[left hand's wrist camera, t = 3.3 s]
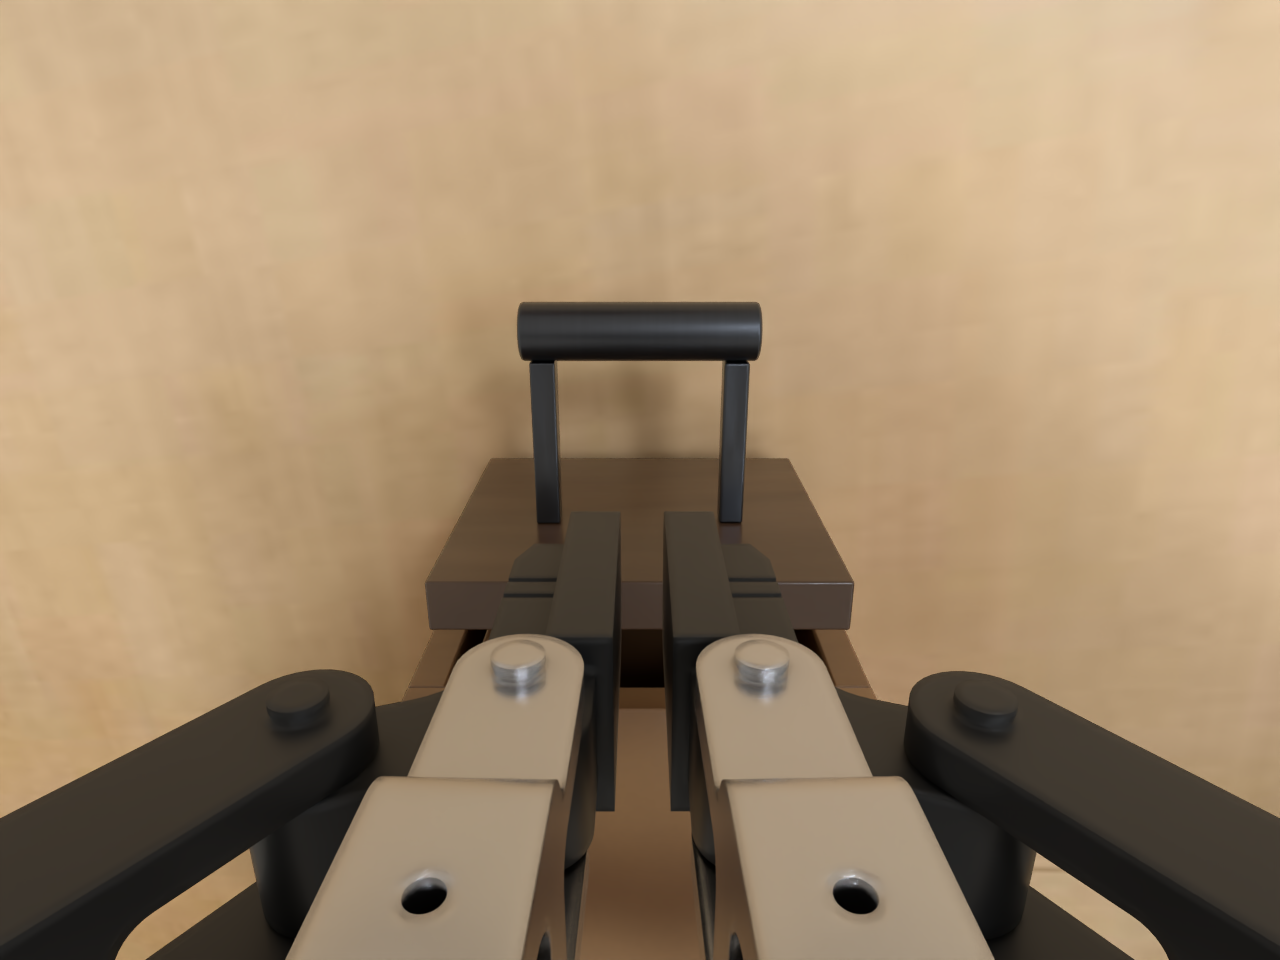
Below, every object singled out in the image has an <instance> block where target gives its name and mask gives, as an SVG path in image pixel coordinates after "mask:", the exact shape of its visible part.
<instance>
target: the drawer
mask: <svg viewBox="0 0 1280 960" xmlns="http://www.w3.org/2000/svg"><path fill="white" fill-rule="evenodd" d="M517 340H518V349H519V354H520V357H521V359H522V360H524V361H531V362H530V364H529V367H530V388H531V409H532V430H533V451H534V459H491V460H490V461H489V463H488V465H487V467H486V469H485V471H484V473H483V475H482V477H481V478H480V480H479V482H478V484H477V486H476V488H475V490H474V492H473V493H472V495H471V497H470V499H469V501H468V503H467V505H466V507H465V509H464V510H463V512H462V514H461V516H460V518H459V520H458V522H457V524H456V525H455V527H454V529H453V531H452V533H451V535H450V537H449V539H448V541H447V542H446V544H445V546H444V548H443V550H442V552H441V554H440V556H439V557H438V559H437V561H436V563H435V565H434V567H433V569H432V571H431V573H430V574H429V576H428V578H427V580H426V582H425V589H426V598H427V608H428V618H429V627H430V629H432V630H487V631H486V634H485V637H484V640H483V642H486V641H488V639H489V636H490V633H491V630H492V627H493V624H494V621H495V618H496V615H497V612H498V609H499V606H500V603H501V600H502V598H503V593H504V590H505V587H506V584H507V582H508V581H509V575H510V572H511V569H512V566H513V563H514V560H515V559H516V558H517V557H518V556H520V555H521V554H522V553H523V552H525V551H526V550H527V549H528V548H530V547H531V546H532V545H533V544H564V542H565V537H566V533H567V528H568V523H569V518H570V513H571V511H620V514H621V597H622V636H621V668H620V688H665V684H664V664H663V636H662V597H663V518H664V511H713V512H714V516H715V521H716V525H717V530H718V534H719V539H720V543H721V544H751V545H752V546H754V547H755V548H756V549H757V550H759V551H760V552H761V553H762V554H764V555H765V556H766V557H767V558H769V559H770V561H771V564H772V567H773V570H774V573H775V576H776V582H778V585H779V588H780V591H781V597H782V598H783V600H784V602H785V605H786V608H787V611H788V614H789V617H790V620H791V623H792V626H793V629H794V630H848V629H849V628H850V621H851V611H852V602H853V592H854V581H853V579H852V578H851V576H850V574H849V572H848V570H847V568H846V566H845V564H844V562H843V561H842V559H841V557H840V555H839V553H838V551H837V549H836V547H835V545H834V544H833V542H832V540H831V538H830V536H829V534H828V532H827V530H826V528H825V527H824V525H823V523H822V521H821V519H820V517H819V515H818V513H817V511H816V510H815V508H814V506H813V504H812V502H811V500H810V498H809V496H808V494H807V493H806V491H805V489H804V487H803V485H802V483H801V481H800V479H799V477H798V476H797V474H796V472H795V470H794V468H793V466H792V464H791V462H790V460H789V459H745V456H746V435H747V414H748V393H749V372H750V364H749V362H748V361H755V360H757V359H758V357H759V355H760V351H761V344H762V312H761V307H760V305H759V303H757V302H523V303H520V306H519V308H518V315H517ZM557 361H723V363H722V392H721V420H720V448H719V459H560V434H559V406H558V378H557Z"/></svg>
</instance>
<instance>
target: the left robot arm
mask: <svg viewBox="0 0 1280 960" xmlns="http://www.w3.org/2000/svg"><path fill="white" fill-rule="evenodd" d="M621 636H622V597H621V514H620V511H571V513H570V518H569V523H568V528H567V533H566V537H565V542H564V544H533V545H532V546H531V547H530V548H528V549H527V550H526V551H525V552H523V553H522V554H521V555H520V556H518V557H517V558H516V559H515V560H514V563H513V566H512V569H511V572H510V575H509V581H508V582H507V584H506V587H505V590H504V593H503V598H502V600H501V603H500V606H499V609H498V612H497V615H496V618H495V621H494V624H493V627H492V630H491V633H490V636H489V639H488V641H486V642H483V643H481V644H479V645H477V646H475V647H473V648H472V649H470V650H469V651H467V652H466V653H465V654H463V655H462V657H461V658H460V659H459V660H458V661H457V663H456V664H455V666H454V668H453V670H452V673H451V675H450V677H449V680H448V682H447V685H446V687H445V689H444V690H443V691H440V692H438V693H435V694H432V695H429V696H425V697H421V698H417V699H412V700H407V701H402V702H397V703H392V704H387V705H382V706H377V707H375V702H374V694H373V690H372V688H371V686H370V685H369V684H368V683H367V681H366V680H364V679H363V678H361V677H360V676H357V675H355V674H352V673H349V672H345V671H339V670H311V671H304V672H298V673H294V674H290V675H286V676H283V677H280V678H277V679H274V680H271V681H269V682H267V683H265V684H263V685H260V686H258V687H256V688H255V689H253V690H251V691H249V692H247V693H245V694H243V695H241V696H239V697H237V698H235V699H233V700H231V701H229V702H227V703H225V704H223V705H221V706H219V707H217V708H215V709H213V710H211V711H210V712H208V713H206V714H204V715H202V716H200V717H198V718H196V719H194V720H192V721H190V722H188V723H186V724H184V725H182V726H180V727H178V728H176V729H174V730H172V731H170V732H168V733H166V734H164V735H163V736H161V737H159V738H157V739H155V740H153V741H151V742H149V743H147V744H145V745H143V746H141V747H139V748H137V749H135V750H133V751H131V752H129V753H127V754H125V755H123V756H121V757H119V758H117V759H116V760H114V761H112V762H110V763H108V764H106V765H104V766H102V767H100V768H98V769H96V770H94V771H92V772H90V773H88V774H86V775H84V776H82V777H80V778H78V779H76V780H74V781H72V782H71V783H69V784H67V785H65V786H63V787H61V788H59V789H57V790H55V791H53V792H51V793H49V794H47V795H45V796H43V797H41V798H39V799H37V800H35V801H33V802H31V803H29V804H27V805H25V806H24V807H22V808H20V809H18V810H16V811H14V812H12V813H10V814H8V815H6V816H4V817H2V818H0V960H115V958H116V956H117V954H118V951H119V949H120V948H121V946H122V944H123V942H124V941H125V940H126V938H127V937H128V935H129V934H130V933H131V932H132V931H133V930H134V928H135V927H136V926H137V925H138V924H139V923H140V922H142V921H143V920H144V919H145V918H146V917H148V916H149V915H150V914H152V913H153V912H154V911H156V910H157V909H159V908H160V907H162V906H163V905H165V904H166V903H168V902H169V901H171V900H172V899H174V898H175V897H177V896H178V895H180V894H181V893H183V892H184V891H186V890H187V889H189V888H190V887H192V886H193V885H195V884H196V883H198V882H199V881H201V880H202V879H204V878H205V877H207V876H208V875H210V874H211V873H213V872H214V871H216V870H217V869H219V868H220V867H222V866H223V865H225V864H226V863H228V862H229V861H231V860H232V859H234V858H235V857H237V856H238V855H240V854H241V853H243V852H244V851H246V850H247V849H249V848H250V853H251V858H252V862H253V867H254V872H255V877H256V881H257V882H255V883H254V884H252V885H251V886H249V887H248V888H247V889H245V890H244V891H242V892H241V893H240V894H238V895H237V896H235V897H234V898H232V899H231V900H230V901H228V902H227V903H225V904H224V905H222V906H221V907H220V908H218V909H217V910H215V911H214V912H213V913H211V914H210V915H208V916H207V917H205V918H204V919H203V920H201V921H200V922H198V923H197V924H196V925H194V926H193V927H191V928H190V929H188V930H187V931H186V932H184V933H183V934H181V935H180V936H179V937H177V938H176V939H174V940H173V941H171V942H170V943H169V944H167V945H166V946H164V947H163V948H161V949H160V950H159V951H157V952H156V953H154V954H153V955H152V956H150V957H149V958H147V959H146V960H580V953H581V944H582V935H583V925H584V916H585V907H586V897H587V888H588V878H589V847H590V844H591V842H592V840H593V835H594V829H595V815H596V812H615V794H616V769H617V743H618V718H619V693H620V668H621ZM662 636H663V664H664V684H665V705H666V726H667V746H668V767H669V788H670V808H671V811H690V817H691V829H692V832H691V878H692V888H693V897H694V907H695V916H696V925H697V935H698V944H699V953H700V960H1134V959H1133V958H1131V957H1130V956H1128V955H1127V954H1126V953H1124V952H1123V951H1121V950H1120V949H1119V948H1117V947H1116V946H1114V945H1113V944H1111V943H1110V942H1109V941H1107V940H1106V939H1104V938H1103V937H1102V936H1100V935H1099V934H1097V933H1096V932H1094V931H1093V930H1092V929H1090V928H1089V927H1087V926H1086V925H1084V924H1083V923H1082V922H1080V921H1079V920H1077V919H1076V918H1075V917H1073V916H1072V915H1070V914H1069V913H1067V912H1066V911H1065V910H1063V909H1062V908H1060V907H1059V906H1058V905H1056V904H1055V903H1053V902H1052V901H1050V900H1049V899H1048V898H1046V897H1045V896H1043V895H1042V894H1041V893H1039V892H1038V891H1036V890H1035V889H1033V888H1032V887H1031V886H1029V884H1030V880H1031V875H1032V871H1033V866H1034V861H1035V857H1036V852H1037V853H1039V854H1040V855H1042V856H1043V857H1045V858H1046V859H1048V860H1049V861H1051V862H1052V863H1054V864H1055V865H1057V866H1058V867H1060V868H1061V869H1063V870H1064V871H1066V872H1067V873H1069V874H1070V875H1072V876H1073V877H1075V878H1076V879H1078V880H1079V881H1081V882H1082V883H1084V884H1085V885H1087V886H1088V887H1090V888H1091V889H1093V890H1094V891H1096V892H1097V893H1099V894H1100V895H1102V896H1103V897H1105V898H1106V899H1108V900H1109V901H1111V902H1112V903H1114V904H1115V905H1117V906H1118V907H1120V908H1121V909H1123V910H1124V911H1126V912H1127V913H1129V914H1130V915H1132V916H1133V917H1134V918H1136V919H1137V920H1138V921H1140V922H1141V923H1142V924H1143V925H1144V926H1145V927H1146V928H1148V929H1149V931H1150V932H1151V933H1152V934H1153V935H1154V936H1155V937H1156V939H1157V940H1158V941H1159V943H1160V944H1161V945H1162V947H1163V949H1164V951H1165V952H1166V954H1167V956H1168V959H1169V960H1280V818H1278V817H1276V816H1274V815H1272V814H1270V813H1268V812H1266V811H1264V810H1262V809H1260V808H1258V807H1256V806H1255V805H1253V804H1251V803H1249V802H1247V801H1245V800H1243V799H1241V798H1239V797H1237V796H1235V795H1233V794H1231V793H1229V792H1227V791H1225V790H1223V789H1221V788H1219V787H1217V786H1215V785H1213V784H1211V783H1210V782H1208V781H1206V780H1204V779H1202V778H1200V777H1198V776H1196V775H1194V774H1192V773H1190V772H1188V771H1186V770H1184V769H1182V768H1180V767H1178V766H1176V765H1174V764H1172V763H1170V762H1168V761H1166V760H1164V759H1163V758H1161V757H1159V756H1157V755H1155V754H1153V753H1151V752H1149V751H1147V750H1145V749H1143V748H1141V747H1139V746H1137V745H1135V744H1133V743H1131V742H1129V741H1127V740H1125V739H1123V738H1121V737H1119V736H1117V735H1116V734H1114V733H1112V732H1110V731H1108V730H1106V729H1104V728H1102V727H1100V726H1098V725H1096V724H1094V723H1092V722H1090V721H1088V720H1086V719H1084V718H1082V717H1080V716H1078V715H1076V714H1074V713H1072V712H1071V711H1069V710H1067V709H1065V708H1063V707H1061V706H1059V705H1057V704H1055V703H1053V702H1051V701H1049V700H1047V699H1045V698H1043V697H1041V696H1039V695H1037V694H1035V693H1033V692H1031V691H1029V690H1027V689H1025V688H1024V687H1021V686H1019V685H1017V684H1015V683H1013V682H1010V681H1007V680H1004V679H1002V678H998V677H995V676H991V675H987V674H981V673H976V672H965V671H950V672H941V673H937V674H933V675H930V676H928V677H925V678H923V679H922V680H920V681H919V682H917V683H916V684H915V686H914V687H913V688H912V690H911V693H910V697H909V704H908V706H905V705H900V704H894V703H889V702H884V701H879V700H874V699H870V698H866V697H862V696H858V695H855V694H852V693H849V692H846V691H844V690H841V689H839V688H837V687H835V686H834V685H833V682H832V680H831V678H830V675H829V673H828V670H827V668H826V666H825V664H824V663H823V661H822V660H821V659H820V658H819V657H818V655H817V654H815V653H814V652H813V651H811V650H810V649H808V648H807V647H805V646H803V645H801V644H799V643H798V641H797V638H796V635H795V632H794V629H793V626H792V623H791V620H790V617H789V614H788V611H787V608H786V605H785V602H784V600H783V598H782V597H781V591H780V588H779V585H778V582H776V576H775V573H774V570H773V567H772V564H771V561H770V559H769V558H767V557H766V556H765V555H764V554H762V553H761V552H760V551H759V550H757V549H756V548H755V547H754V546H752V545H751V544H721V543H720V539H719V534H718V530H717V525H716V521H715V516H714V512H713V511H664V518H663V597H662Z"/></svg>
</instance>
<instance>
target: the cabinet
mask: <svg viewBox="0 0 1280 960" xmlns="http://www.w3.org/2000/svg"><path fill="white" fill-rule="evenodd" d="M486 631H487V630H434V632H433V634H432V636H431V638H430V640H429V642H428V645H427V647H426V649H425V651H424V653H423V656H422V658H421V660H420V662H419V664H418V667H417V669H416V671H415V673H414V675H413V678H412V680H411V682H410V684H409V687H408V689H407V691H406V693H405V695H404V697H403V700H402V701H407V700H412V699H417V698H421V697H425V696H429V695H432V694H435V693H438V692H440V691H443V690H444V689H445V687H446V685H447V682H448V680H449V677H450V675H451V673H452V670H453V668H454V666H455V664H456V663H457V661H458V660H459V659H460V658H461V657H462V655H463V654H465V653H466V652H467V651H469V650H470V649H472V648H473V647H475V646H477V645H479V644H481V643H483V640H484V637H485V634H486ZM794 632H795V635H796V638H797V641H798V643H799V644H801V645H803V646H805V647H807V648H808V649H810V650H811V651H813V652H814V653H815V654H817V655H818V657H819V658H820V659H821V660H822V661H823V663H824V664H825V666H826V668H827V670H828V673H829V675H830V678H831V680H832V682H833V685H834V686H835V687H837V688H839V689H841V690H844V691H846V692H849V693H852V694H855V695H858V696H862V697H866V698H870V699H874V700H877V699H876V697H875V694H874V692H873V690H872V688H871V687H870V684H869V682H868V680H867V678H866V676H865V673H864V671H863V669H862V667H861V665H860V662H859V660H858V658H857V656H856V653H855V651H854V649H853V647H852V645H851V642H850V640H849V638H848V636H847V634H846V631H845V630H794ZM691 832H692V829H691V817H690V811H671V808H670V788H669V767H668V746H667V726H666V705H665V688H620V693H619V718H618V743H617V769H616V794H615V812H596V815H595V829H594V835H593V840H592V842H591V844H590V847H589V878H588V888H587V897H586V907H585V916H584V925H583V935H582V944H581V953H580V960H700V953H699V944H698V935H697V925H696V916H695V907H694V897H693V888H692V878H691Z"/></svg>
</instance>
